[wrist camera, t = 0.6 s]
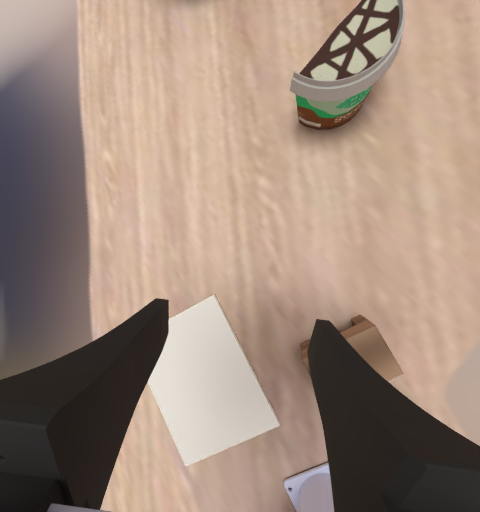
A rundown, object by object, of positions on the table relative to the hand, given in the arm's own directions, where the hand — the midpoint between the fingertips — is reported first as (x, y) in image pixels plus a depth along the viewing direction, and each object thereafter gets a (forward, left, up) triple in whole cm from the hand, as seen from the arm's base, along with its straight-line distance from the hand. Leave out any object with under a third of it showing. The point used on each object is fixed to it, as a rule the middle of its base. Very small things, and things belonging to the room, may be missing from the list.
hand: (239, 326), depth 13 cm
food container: (+16, -19, -22) cm, 33 cm away
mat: (-6, +14, -21) cm, 26 cm away
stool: (-10, -4, -21) cm, 24 cm away
